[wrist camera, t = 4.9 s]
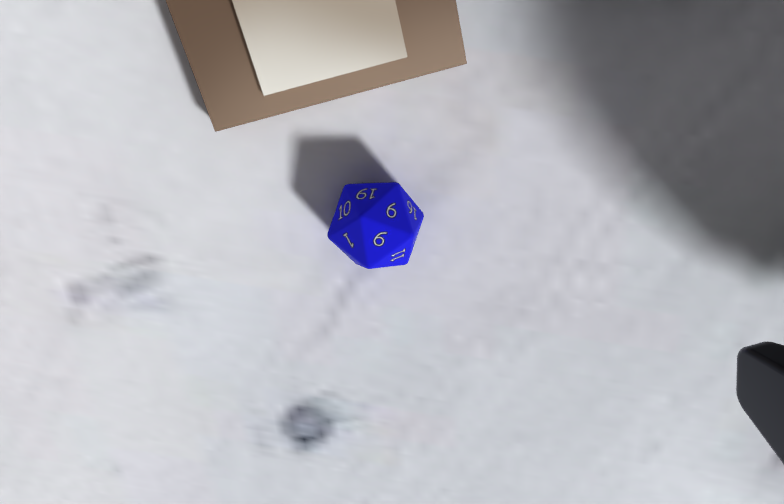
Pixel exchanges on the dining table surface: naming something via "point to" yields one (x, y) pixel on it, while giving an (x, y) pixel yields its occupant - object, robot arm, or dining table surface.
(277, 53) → the game track
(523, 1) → the dining table surface
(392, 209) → the die
